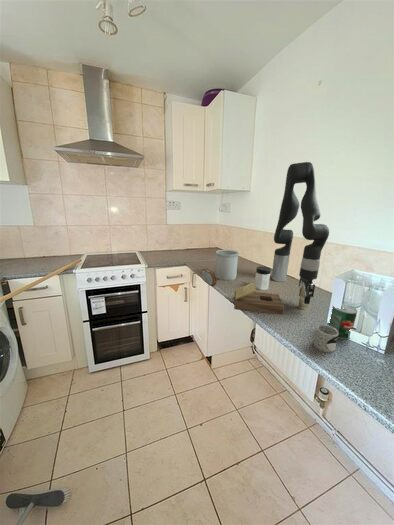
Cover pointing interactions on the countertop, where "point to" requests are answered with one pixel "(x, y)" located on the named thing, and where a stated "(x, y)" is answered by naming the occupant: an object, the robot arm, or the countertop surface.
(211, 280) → the brown oval frame
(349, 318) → the canned tomato
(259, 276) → the jar
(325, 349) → the mug
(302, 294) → the peg
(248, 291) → the latch flap
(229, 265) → the utensil holder
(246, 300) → the block
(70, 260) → the countertop surface
